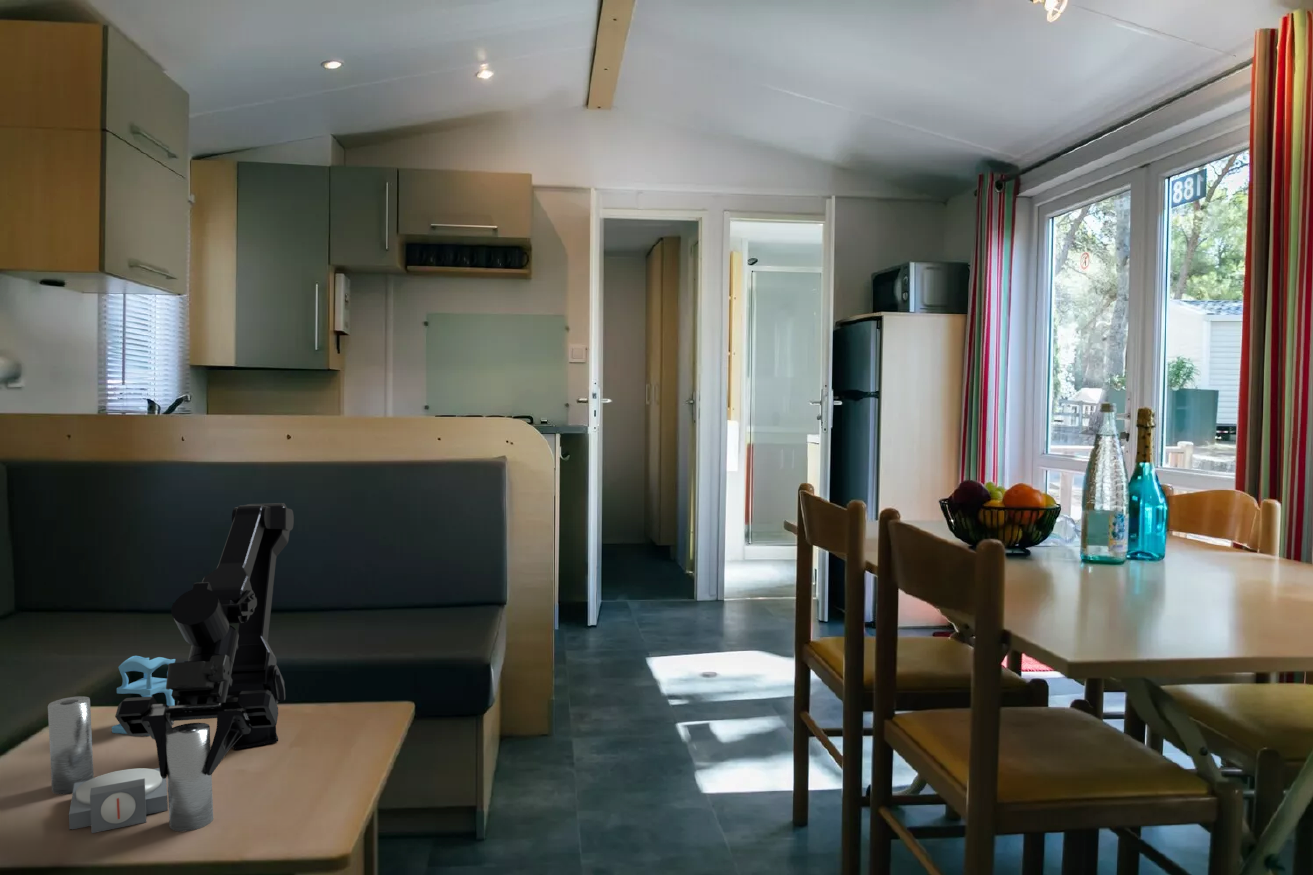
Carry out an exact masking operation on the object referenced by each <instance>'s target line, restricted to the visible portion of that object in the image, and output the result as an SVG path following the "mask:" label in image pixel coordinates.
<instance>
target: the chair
mask: <svg viewBox="0 0 1313 875" xmlns="http://www.w3.org/2000/svg"><path fill="white" fill-rule="evenodd" d="M170 663H176V658H173V659H172V658H171V659H169V658H166V657H161V656H158V657H154V658H152V659H150V657H143V656H139V655H132V656H130V657H129V658H127V659H125V660H124V661H123V662H122V663H121V664H120V665H119V666H118V670H119V673H120V675H121V678H122V684H121V686H118V687H116V694H123V695H124V694H136V695H140V696H141V697H153V695H155V694H158V693H159V694H160V693H164V695H165V700H166V705H168V706H174V705H176V704H175V701H176V700H174V699H173V698H172V696H171V695H172V691H173V690H171V689H169V690H167V689H166V683H167V678H163V677H154V676H152V673H154V672H155V671H156V670H158V668H160V667H161V666H163V665H167V666H168V665H169V664H170ZM128 672H139V673H140V672H141V673H143V678H139V679H137V680H136V681H133V682H131V683H129V677H128V675H127V673H128ZM166 672H167V673H166V675H167V674H168V671H166ZM111 732H112V733H113V734H122V735H123V734H124V735H128V734H127V733H126V731H125V730H124V728H123V727H122V726H121V724H120V723H118V724H116V725H115V724H114V725H113V726H111ZM149 736H150V735H147V737H149ZM150 737H151V736H150Z"/></svg>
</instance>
